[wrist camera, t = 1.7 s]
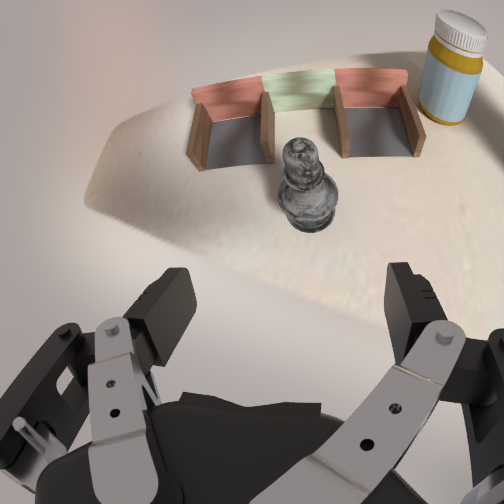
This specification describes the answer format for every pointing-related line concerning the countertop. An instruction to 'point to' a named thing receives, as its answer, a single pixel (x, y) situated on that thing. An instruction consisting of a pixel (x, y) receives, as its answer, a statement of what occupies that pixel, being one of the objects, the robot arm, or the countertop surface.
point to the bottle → (452, 67)
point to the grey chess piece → (306, 188)
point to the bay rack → (300, 98)
